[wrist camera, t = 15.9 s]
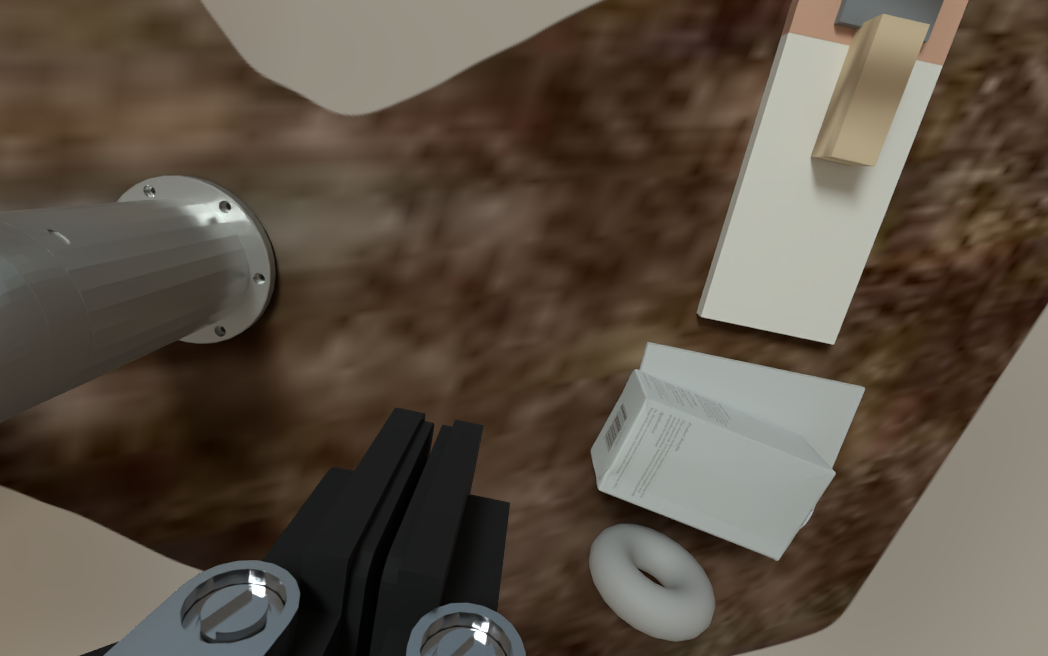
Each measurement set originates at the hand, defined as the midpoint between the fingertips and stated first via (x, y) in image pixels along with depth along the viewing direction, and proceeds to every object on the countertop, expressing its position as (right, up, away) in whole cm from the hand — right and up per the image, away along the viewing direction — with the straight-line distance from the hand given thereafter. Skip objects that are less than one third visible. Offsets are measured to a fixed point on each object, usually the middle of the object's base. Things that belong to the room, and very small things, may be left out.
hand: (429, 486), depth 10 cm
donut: (+12, -15, +37) cm, 41 cm away
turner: (+24, +21, +24) cm, 40 cm away
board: (+22, +16, +27) cm, 38 cm away
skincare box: (+8, -4, +30) cm, 31 cm away
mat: (+19, -5, +33) cm, 38 cm away
